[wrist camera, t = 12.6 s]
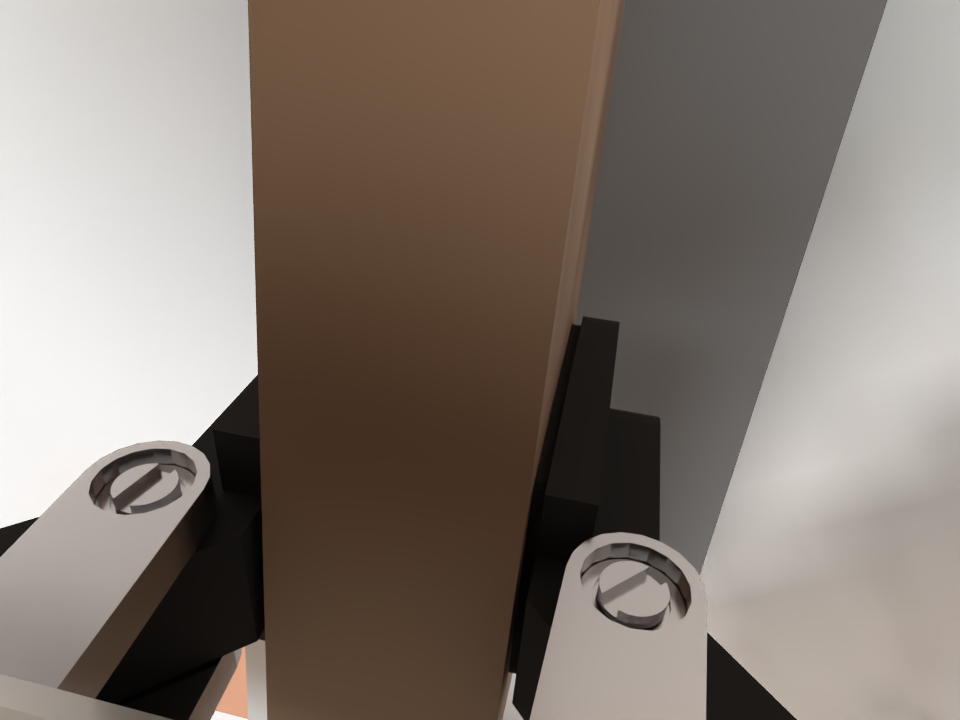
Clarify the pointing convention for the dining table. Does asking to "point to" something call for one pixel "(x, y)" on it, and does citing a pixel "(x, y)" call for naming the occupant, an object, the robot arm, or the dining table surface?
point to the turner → (411, 333)
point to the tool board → (712, 216)
